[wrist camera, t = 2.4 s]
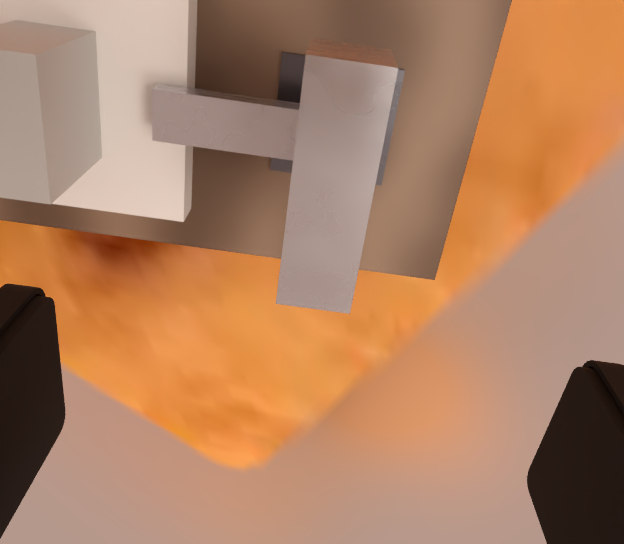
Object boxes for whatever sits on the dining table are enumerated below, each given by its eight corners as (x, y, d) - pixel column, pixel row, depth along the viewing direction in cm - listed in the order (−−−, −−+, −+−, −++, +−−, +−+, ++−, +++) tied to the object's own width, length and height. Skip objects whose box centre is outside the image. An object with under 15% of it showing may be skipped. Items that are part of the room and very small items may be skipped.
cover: (198, -31, 22) (149, -19, 17) (191, 208, 27) (151, 279, 22) (-66, -70, 22) (-206, -72, 16) (-24, 178, 27) (-121, 242, 21)
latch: (382, 27, 23) (398, 67, 16) (348, 216, 26) (349, 313, 20) (168, -5, 22) (89, 22, 15) (166, 190, 26) (104, 280, 19)
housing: (498, -46, 25) (524, -43, 21) (424, 242, 32) (435, 281, 28) (-65, -131, 25) (-136, -143, 21) (-15, 181, 32) (-62, 213, 28)
